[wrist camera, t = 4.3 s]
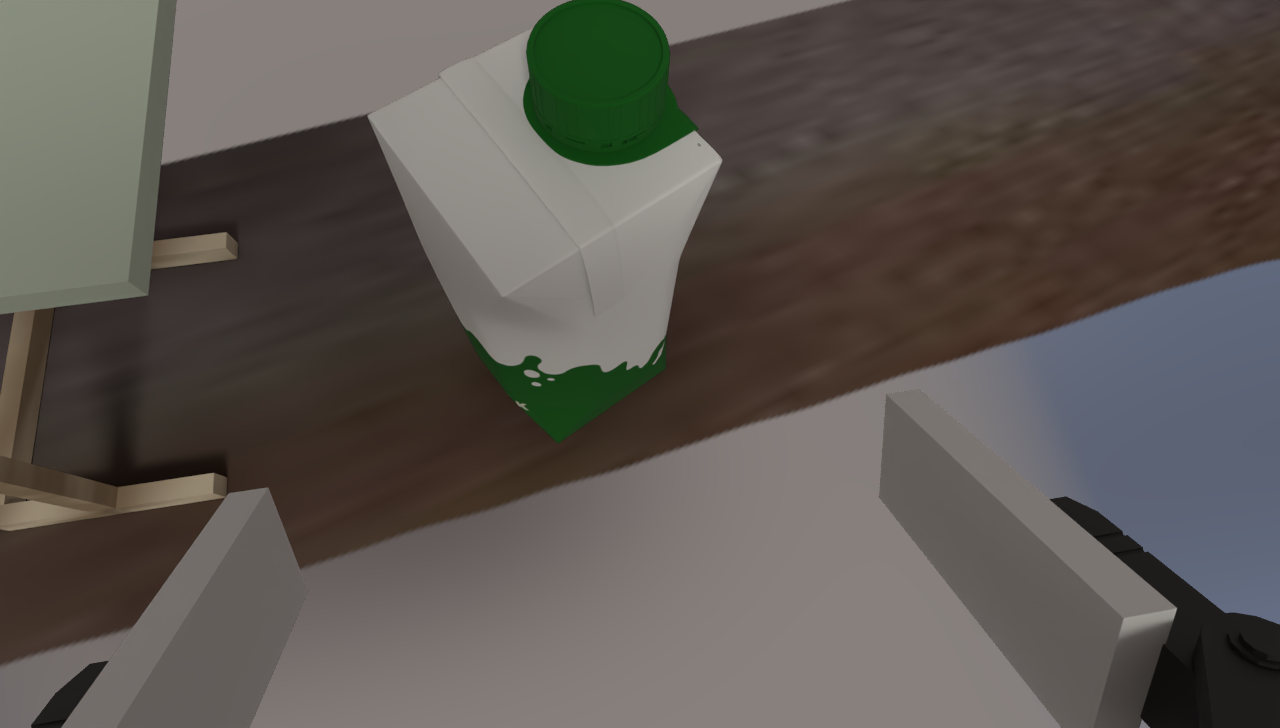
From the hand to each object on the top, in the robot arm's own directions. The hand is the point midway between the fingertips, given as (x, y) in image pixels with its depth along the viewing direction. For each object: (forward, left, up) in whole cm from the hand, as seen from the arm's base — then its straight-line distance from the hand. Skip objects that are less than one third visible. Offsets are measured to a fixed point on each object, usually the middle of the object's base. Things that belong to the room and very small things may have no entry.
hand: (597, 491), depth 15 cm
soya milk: (0, +11, -20) cm, 23 cm away
